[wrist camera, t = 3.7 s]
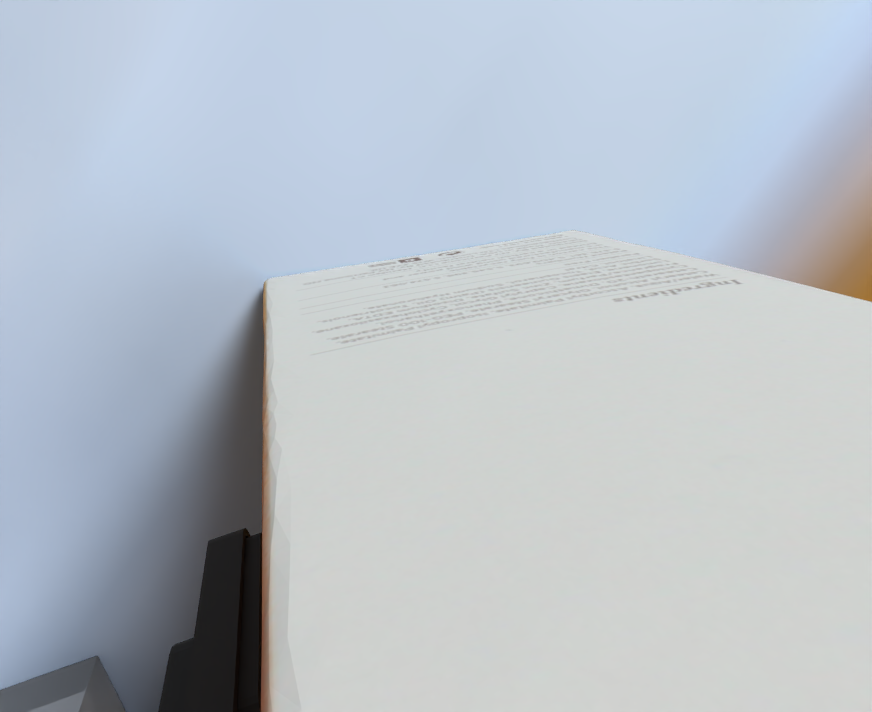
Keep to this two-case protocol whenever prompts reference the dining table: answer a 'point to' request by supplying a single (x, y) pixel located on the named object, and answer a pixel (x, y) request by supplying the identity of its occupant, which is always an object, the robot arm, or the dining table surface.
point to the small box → (564, 485)
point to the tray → (64, 691)
